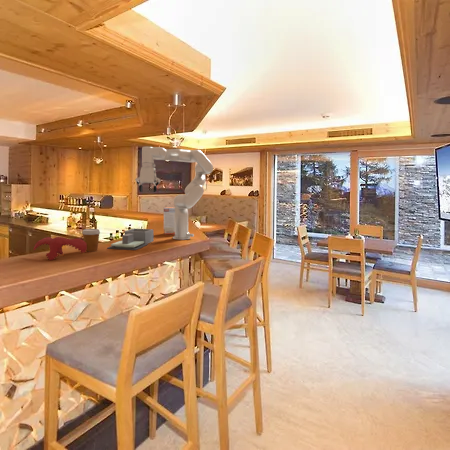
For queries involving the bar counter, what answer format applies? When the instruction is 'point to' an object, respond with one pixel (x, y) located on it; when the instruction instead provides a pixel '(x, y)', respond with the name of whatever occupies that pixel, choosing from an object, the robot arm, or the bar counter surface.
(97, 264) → the bar counter surface
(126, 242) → the lid
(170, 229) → the cracker box
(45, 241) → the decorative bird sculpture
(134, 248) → the mat
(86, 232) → the disposable coffee cup
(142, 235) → the box
